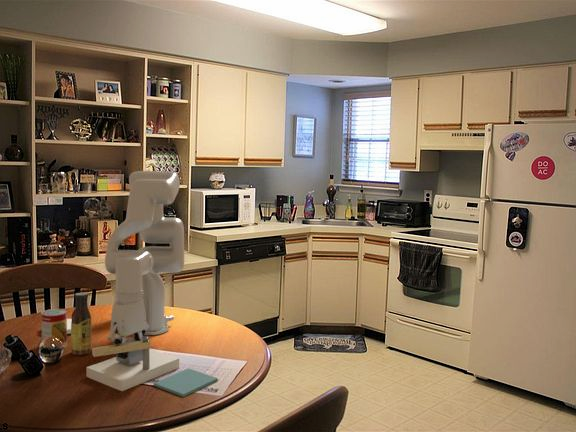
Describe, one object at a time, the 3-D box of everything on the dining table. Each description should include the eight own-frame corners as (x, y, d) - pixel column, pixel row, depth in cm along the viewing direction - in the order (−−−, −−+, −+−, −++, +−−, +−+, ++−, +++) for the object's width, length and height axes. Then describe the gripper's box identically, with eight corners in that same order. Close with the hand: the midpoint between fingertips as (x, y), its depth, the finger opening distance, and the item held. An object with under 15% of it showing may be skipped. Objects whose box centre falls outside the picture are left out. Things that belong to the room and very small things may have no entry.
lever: (92, 354, 159) (92, 343, 159) (148, 346, 167) (148, 335, 167) (93, 356, 157) (93, 345, 157) (150, 348, 165) (150, 337, 165)
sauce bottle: (84, 357, 182) (83, 297, 180) (67, 355, 183) (66, 295, 181) (95, 350, 188) (94, 292, 186) (78, 348, 190) (77, 290, 187)
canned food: (72, 344, 193) (71, 310, 192) (55, 351, 186) (55, 316, 185) (53, 341, 196) (53, 307, 195) (36, 348, 189) (35, 313, 187)
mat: (188, 370, 173) (188, 368, 173) (217, 380, 167) (217, 378, 167) (153, 385, 162) (153, 383, 162) (183, 397, 155) (183, 394, 155)
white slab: (144, 355, 185) (144, 327, 184) (179, 367, 176) (179, 338, 175) (86, 376, 167) (86, 345, 166) (122, 391, 158) (121, 358, 157)
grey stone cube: (129, 355, 175) (129, 337, 174) (142, 360, 171) (142, 341, 171) (116, 360, 171) (116, 341, 170) (129, 365, 167) (129, 346, 166)
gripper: (142, 288, 177) (143, 344, 180) (96, 300, 164) (97, 360, 166) (159, 293, 173) (159, 349, 176) (113, 305, 159) (114, 366, 162)
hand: (129, 354), depth 171 cm, fingers closed on grey stone cube, 5 cm apart
